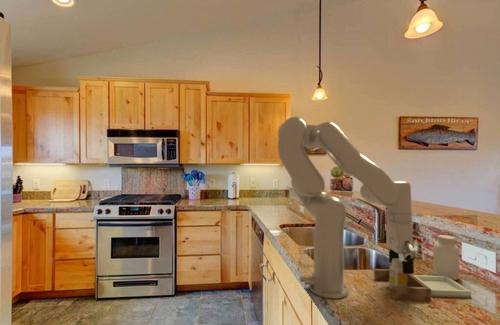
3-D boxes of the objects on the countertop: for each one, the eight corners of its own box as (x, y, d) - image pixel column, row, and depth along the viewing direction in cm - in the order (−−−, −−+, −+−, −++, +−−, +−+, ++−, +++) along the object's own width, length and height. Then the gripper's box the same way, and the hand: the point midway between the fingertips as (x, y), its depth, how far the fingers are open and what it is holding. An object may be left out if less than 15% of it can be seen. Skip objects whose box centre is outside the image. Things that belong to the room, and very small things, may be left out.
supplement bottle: (387, 288, 92) (387, 260, 92) (392, 283, 96) (392, 256, 96) (405, 293, 88) (405, 264, 88) (409, 288, 92) (409, 260, 92)
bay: (393, 299, 85) (393, 287, 85) (374, 278, 100) (374, 269, 100) (430, 300, 84) (430, 289, 84) (405, 279, 99) (405, 269, 99)
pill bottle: (463, 282, 97) (463, 240, 98) (437, 278, 100) (437, 238, 100) (454, 273, 105) (454, 235, 105) (430, 271, 108) (430, 233, 108)
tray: (431, 296, 87) (431, 290, 87) (411, 280, 99) (411, 275, 99) (471, 297, 86) (471, 291, 86) (446, 281, 98) (446, 276, 98)
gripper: (377, 212, 101) (379, 258, 101) (400, 223, 84) (402, 278, 84) (398, 212, 101) (399, 258, 101) (425, 222, 83) (427, 278, 83)
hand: (400, 267), depth 92 cm, fingers open, 9 cm apart
